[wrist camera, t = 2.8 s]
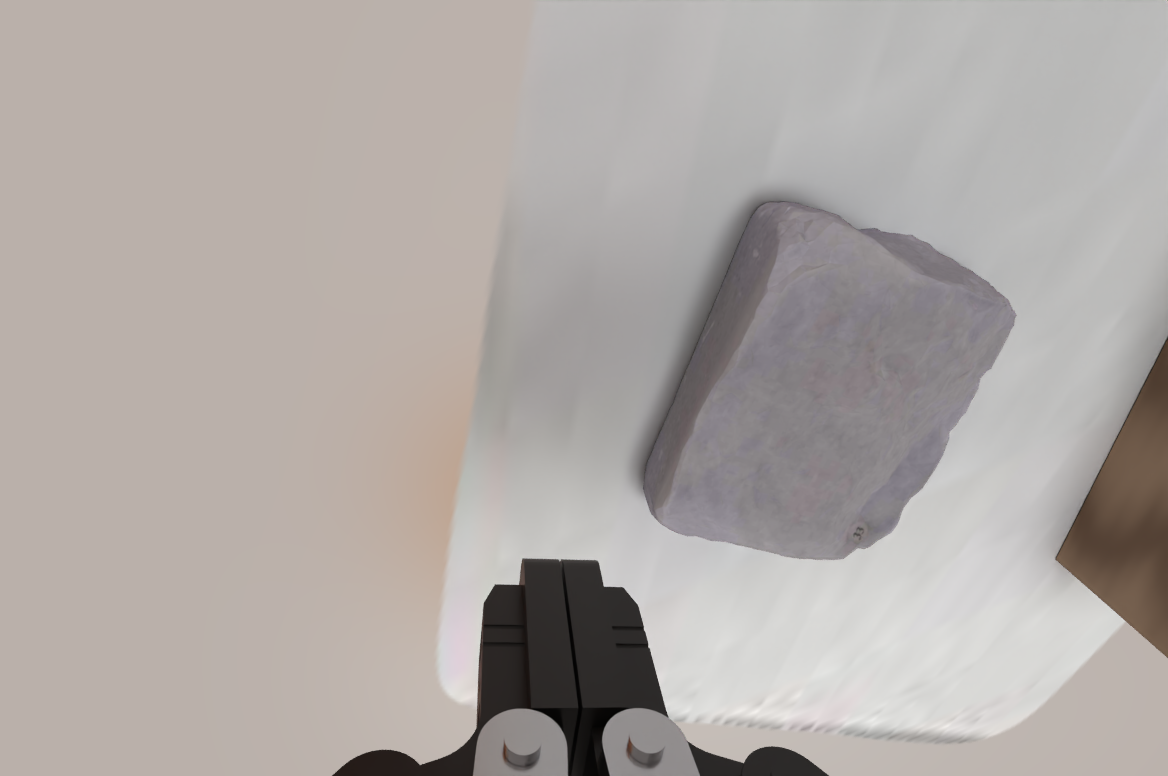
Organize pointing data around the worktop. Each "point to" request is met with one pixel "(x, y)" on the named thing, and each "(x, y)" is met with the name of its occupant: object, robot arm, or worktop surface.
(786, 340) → the stone block
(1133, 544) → the walnut wall board
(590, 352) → the worktop surface
